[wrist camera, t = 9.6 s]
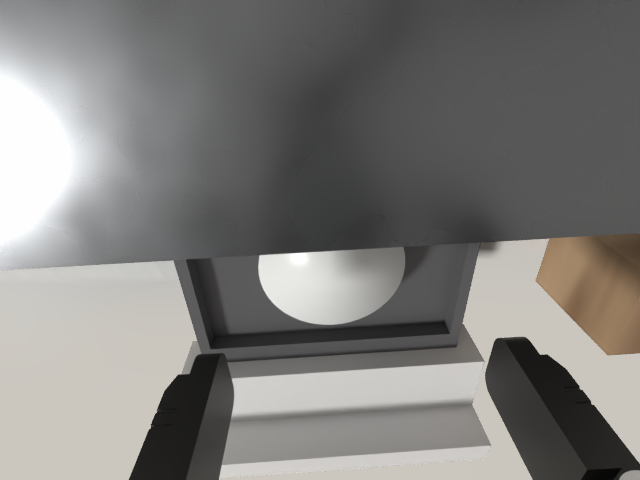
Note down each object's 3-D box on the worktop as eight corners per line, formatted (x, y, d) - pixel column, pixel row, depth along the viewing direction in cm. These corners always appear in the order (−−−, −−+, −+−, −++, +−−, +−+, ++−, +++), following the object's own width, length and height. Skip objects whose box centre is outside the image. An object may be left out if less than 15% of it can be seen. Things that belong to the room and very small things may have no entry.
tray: (524, 58, 13) (630, 68, 9) (450, 378, 22) (486, 458, 18) (111, 77, 12) (18, 96, 8) (209, 395, 21) (187, 480, 17)
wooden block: (641, 207, 17) (762, 268, 12) (609, 276, 19) (703, 348, 14) (558, 212, 16) (650, 275, 12) (535, 281, 18) (607, 355, 14)
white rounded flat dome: (402, 184, 14) (413, 200, 13) (390, 298, 17) (398, 320, 16) (254, 190, 14) (249, 207, 13) (268, 304, 17) (266, 328, 16)
